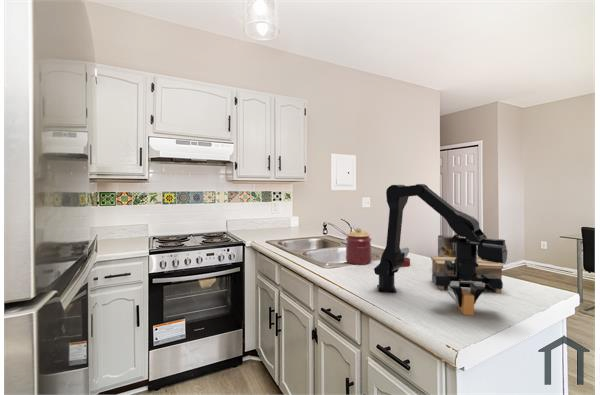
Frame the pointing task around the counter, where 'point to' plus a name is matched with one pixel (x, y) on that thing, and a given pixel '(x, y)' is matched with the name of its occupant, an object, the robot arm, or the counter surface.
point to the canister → (358, 247)
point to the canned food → (406, 260)
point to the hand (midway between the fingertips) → (465, 307)
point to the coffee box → (446, 247)
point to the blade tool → (464, 300)
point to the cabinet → (482, 268)
